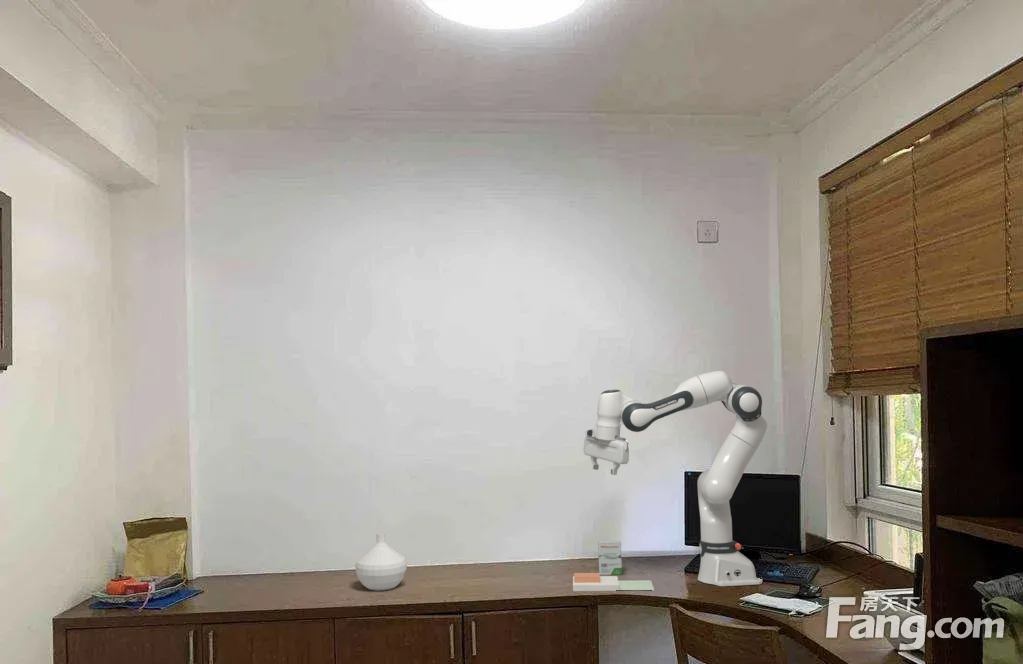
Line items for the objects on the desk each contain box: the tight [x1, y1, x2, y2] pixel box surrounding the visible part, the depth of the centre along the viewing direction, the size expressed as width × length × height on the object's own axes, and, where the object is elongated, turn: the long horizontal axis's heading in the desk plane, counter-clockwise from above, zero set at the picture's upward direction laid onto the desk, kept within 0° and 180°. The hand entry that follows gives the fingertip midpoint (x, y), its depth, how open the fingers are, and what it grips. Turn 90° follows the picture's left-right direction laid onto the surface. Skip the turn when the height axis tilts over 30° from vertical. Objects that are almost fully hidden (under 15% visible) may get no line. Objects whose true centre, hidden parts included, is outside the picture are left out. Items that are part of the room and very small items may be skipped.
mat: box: [618, 579, 655, 592], centre depth 306 cm, size 12×13×1 cm
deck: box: [572, 575, 619, 592], centre depth 307 cm, size 16×13×2 cm
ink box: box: [597, 540, 623, 576], centre depth 326 cm, size 9×5×12 cm, turn 84°
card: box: [573, 572, 601, 583], centre depth 307 cm, size 9×6×2 cm, turn 86°
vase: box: [354, 532, 408, 591], centre depth 313 cm, size 18×18×19 cm
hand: (604, 471), depth 314 cm, fingers open, 8 cm apart
